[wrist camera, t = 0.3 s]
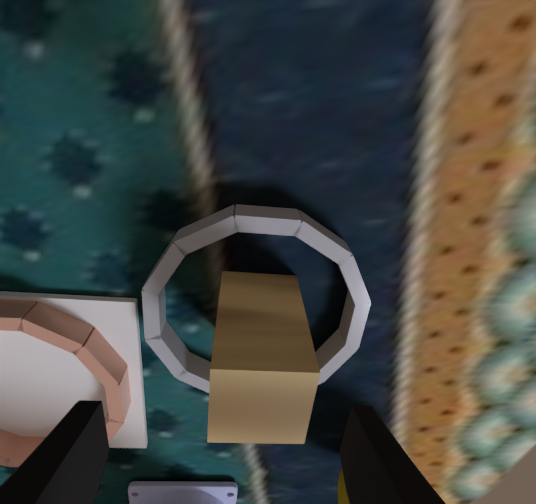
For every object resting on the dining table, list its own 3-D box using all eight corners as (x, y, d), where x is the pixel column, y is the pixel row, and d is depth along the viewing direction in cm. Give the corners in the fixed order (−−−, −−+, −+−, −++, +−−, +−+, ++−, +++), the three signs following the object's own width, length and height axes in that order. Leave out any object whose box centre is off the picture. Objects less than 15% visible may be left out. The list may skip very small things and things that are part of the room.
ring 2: (337, 383, 23) (343, 402, 22) (154, 377, 22) (148, 396, 21) (381, 215, 18) (392, 227, 17) (144, 196, 17) (136, 207, 16)
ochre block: (287, 333, 21) (304, 444, 15) (219, 330, 21) (207, 442, 14) (296, 275, 19) (320, 373, 13) (222, 271, 19) (210, 369, 13)
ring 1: (135, 446, 24) (129, 468, 23) (-49, 443, 23) (-67, 466, 22) (121, 305, 19) (112, 322, 18) (-117, 292, 18) (-146, 310, 17)
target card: (147, 442, 25) (146, 448, 24) (-55, 439, 23) (-60, 445, 23) (136, 298, 19) (135, 302, 19) (-126, 284, 18) (-134, 288, 18)
